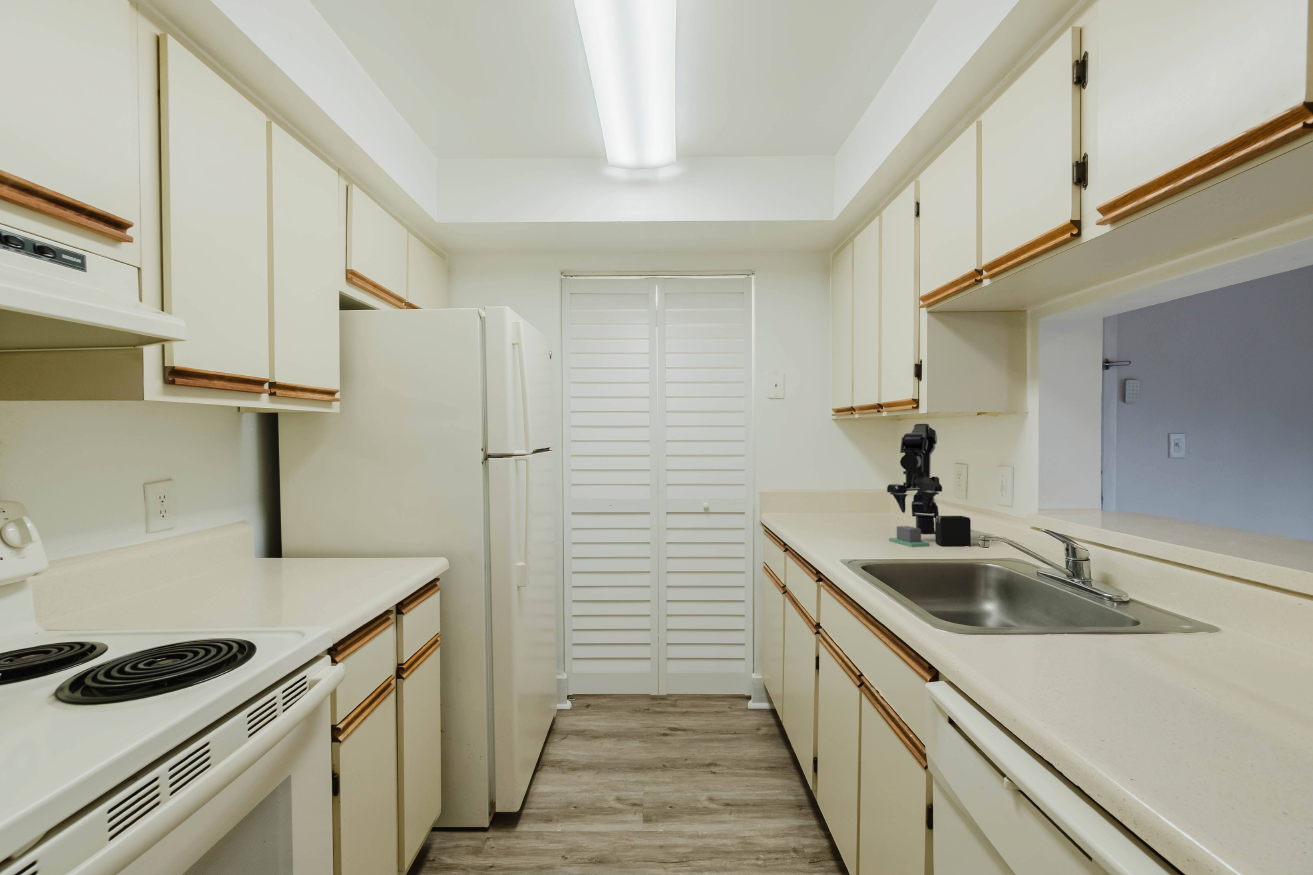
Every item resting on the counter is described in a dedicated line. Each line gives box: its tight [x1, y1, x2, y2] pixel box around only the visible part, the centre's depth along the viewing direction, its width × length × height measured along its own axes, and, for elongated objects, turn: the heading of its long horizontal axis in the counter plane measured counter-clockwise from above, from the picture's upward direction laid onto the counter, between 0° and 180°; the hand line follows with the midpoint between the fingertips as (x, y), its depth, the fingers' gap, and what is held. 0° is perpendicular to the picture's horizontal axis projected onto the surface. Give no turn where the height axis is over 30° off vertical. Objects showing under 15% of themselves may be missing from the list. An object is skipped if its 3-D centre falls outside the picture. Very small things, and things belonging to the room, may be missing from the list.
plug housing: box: [896, 525, 922, 543], centre depth 190 cm, size 7×4×4 cm, turn 12°
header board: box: [888, 537, 930, 548], centre depth 190 cm, size 12×7×4 cm, turn 12°
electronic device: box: [934, 515, 972, 548], centre depth 185 cm, size 4×10×10 cm, turn 89°
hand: (914, 511), depth 193 cm, fingers open, 9 cm apart
